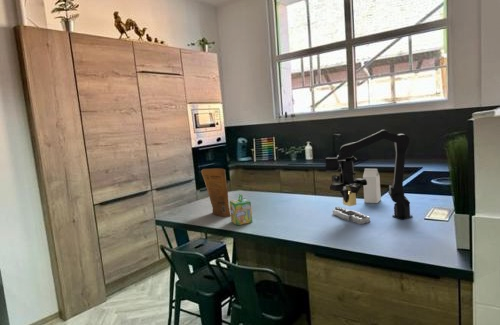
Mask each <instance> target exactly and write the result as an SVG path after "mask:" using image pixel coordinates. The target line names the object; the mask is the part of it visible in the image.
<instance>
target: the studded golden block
mask: <svg viewBox="0 0 500 325" xmlns="http://www.w3.org/2000/svg"><path fill="white" fill-rule="evenodd" d="M342 204H343V205H344V206H348V207H352V206H356V205H357V195H356V193H355V192H351V190H350V191H349V190H348V200H347V203H346V202H345V201H344V199H343V198H342Z"/></svg>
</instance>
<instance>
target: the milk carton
mask: <svg viewBox="0 0 500 325" xmlns="http://www.w3.org/2000/svg"><path fill="white" fill-rule="evenodd" d="M362 179H366V181H367V185H364V186H363V201H364V203H367V204H369V203H370V204H378V203H379V202H380V201H381V200H382V196H381V178H380V173H379V170H378V168H364V171H363V175H362Z"/></svg>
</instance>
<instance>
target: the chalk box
mask: <svg viewBox="0 0 500 325" xmlns="http://www.w3.org/2000/svg"><path fill="white" fill-rule="evenodd" d="M229 210H230V215H231V216H230V219H231V222H232V223H233V224H235V226H241V225H246V224H252V223H253V214H252V202H251V200H249V199H247V198H243V194H241V193H240V194H239V195H238V199H234V200H229ZM251 222H252V223H251Z"/></svg>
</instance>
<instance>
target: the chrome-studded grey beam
mask: <svg viewBox="0 0 500 325" xmlns="http://www.w3.org/2000/svg"><path fill="white" fill-rule="evenodd" d="M332 215H334V216H336V217H339V218H340V219H342V220H344V221H348V222H354V223H357V224H358V225H363V224H367V223H370V222H371V217H370V216H368V215H366V214H362V212H359V211H356V210H352V209H346V208H343V207H340V206H335V208H334V209H332Z"/></svg>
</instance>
